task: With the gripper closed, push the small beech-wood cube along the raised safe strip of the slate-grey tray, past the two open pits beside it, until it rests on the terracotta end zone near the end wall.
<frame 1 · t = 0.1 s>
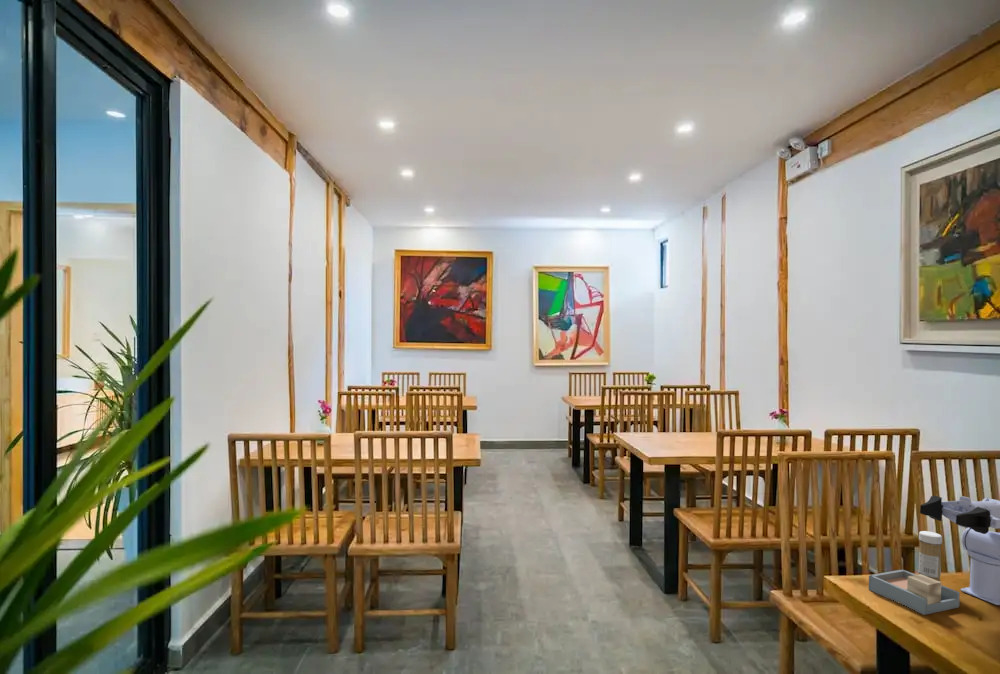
hand: (939, 514, 129), 22 cm above the table, tool horizontal, fingers open, 7 cm apart
trap box: (912, 598, 134), on the table
sprinkles bottle: (928, 587, 140), on the table
beech block: (923, 598, 129), point 2 cm above the table, touching trap box
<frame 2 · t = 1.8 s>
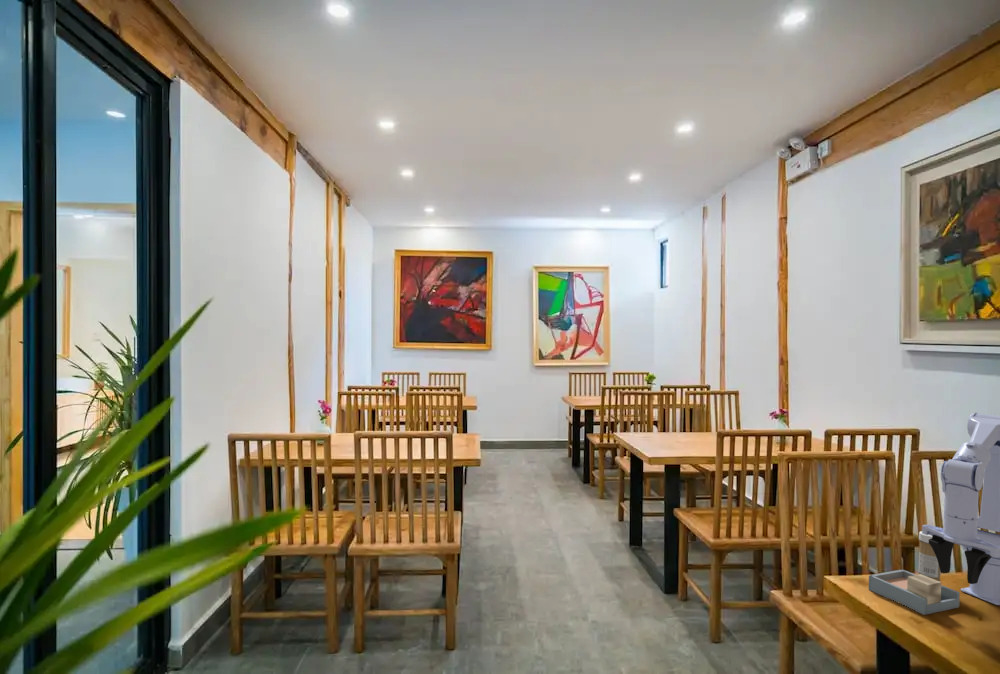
hand: (958, 577, 123), 10 cm above the table, tool pointing down, fingers open, 5 cm apart
nothing on the table moved.
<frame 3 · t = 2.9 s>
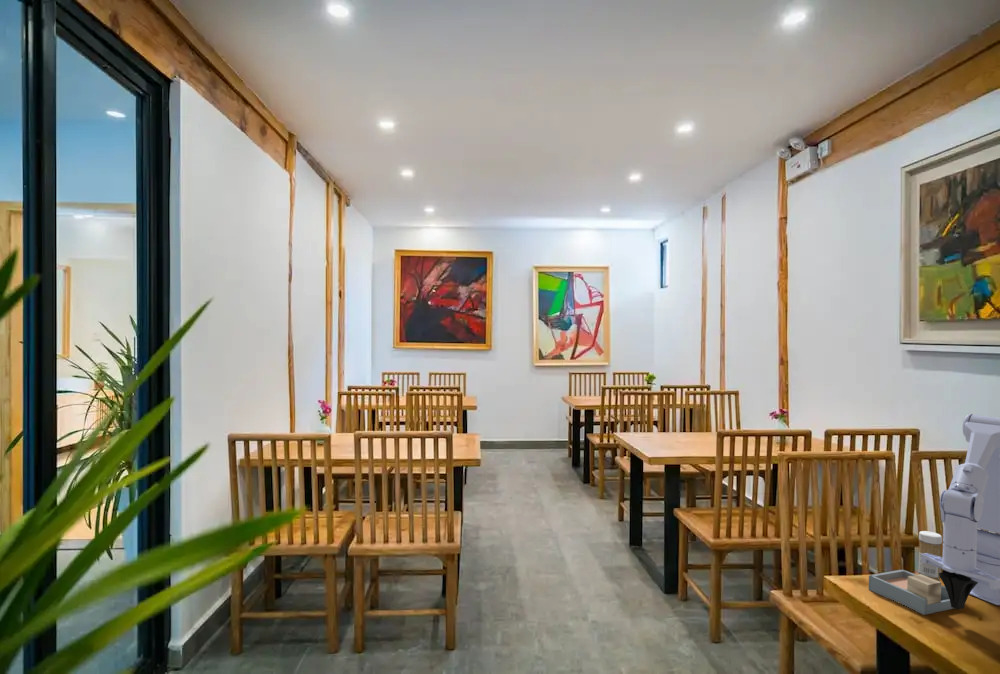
hand: (957, 607, 123), 3 cm above the table, tool pointing down, fingers closed
nothing on the table moved.
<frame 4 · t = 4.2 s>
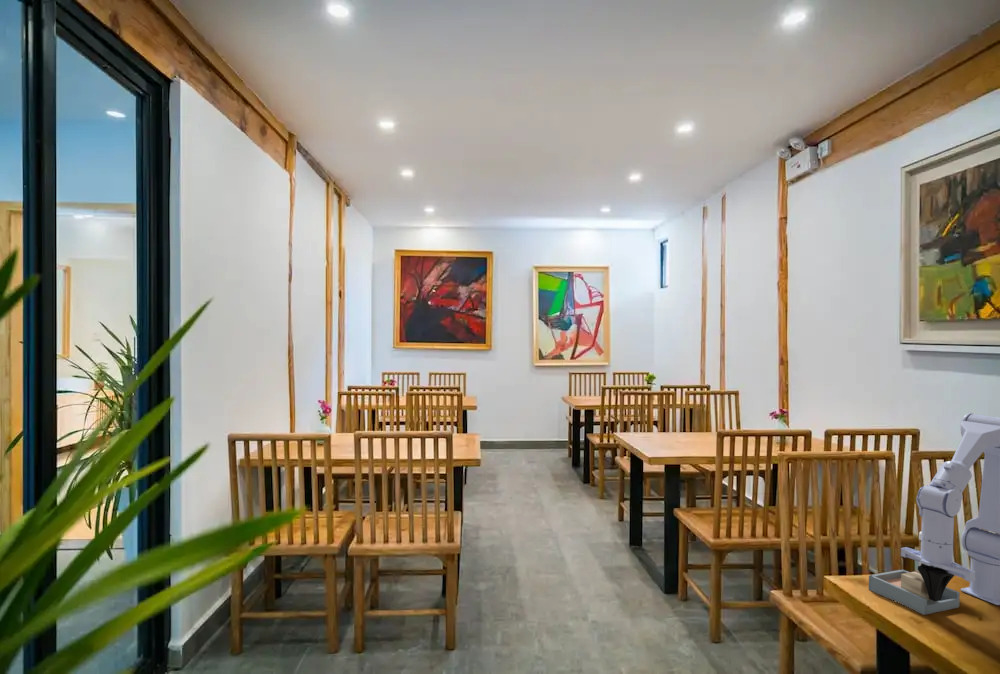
hand: (935, 599, 127), 3 cm above the table, tool pointing down, fingers closed
beech block: (917, 595, 131), point 2 cm above the table, touching gripper
everything else where it was.
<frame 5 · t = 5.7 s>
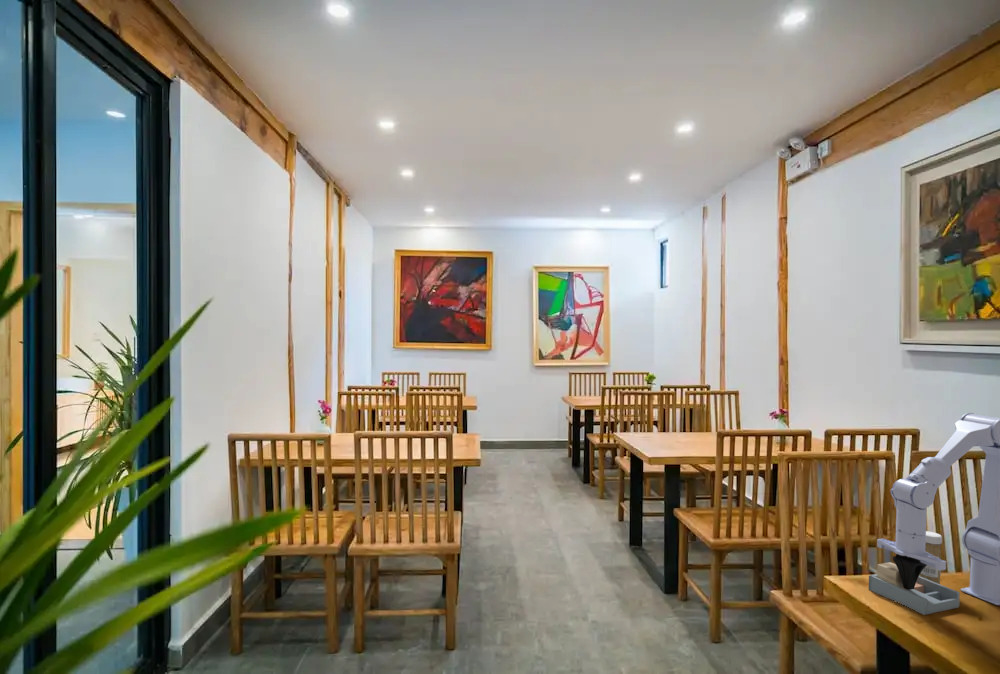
hand: (908, 588, 133), 3 cm above the table, tool pointing down, fingers closed
beech block: (892, 585, 136), point 2 cm above the table, touching gripper, trap box
everything else where it was.
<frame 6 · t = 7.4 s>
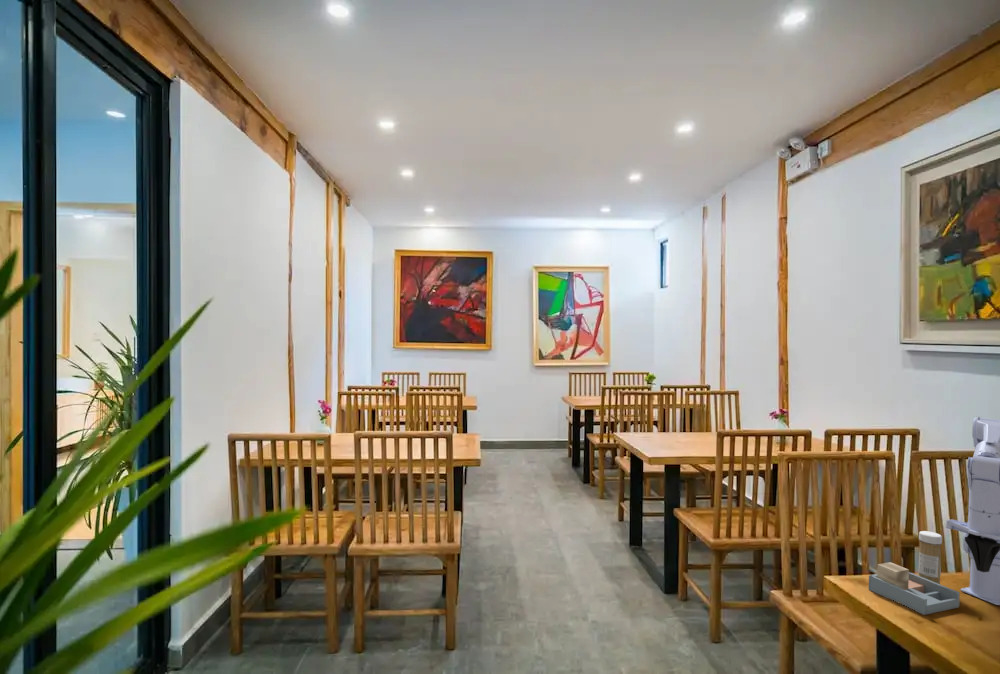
hand: (982, 570, 126), 10 cm above the table, tool pointing down, fingers closed
beech block: (892, 585, 136), point 2 cm above the table, touching trap box
everything else where it was.
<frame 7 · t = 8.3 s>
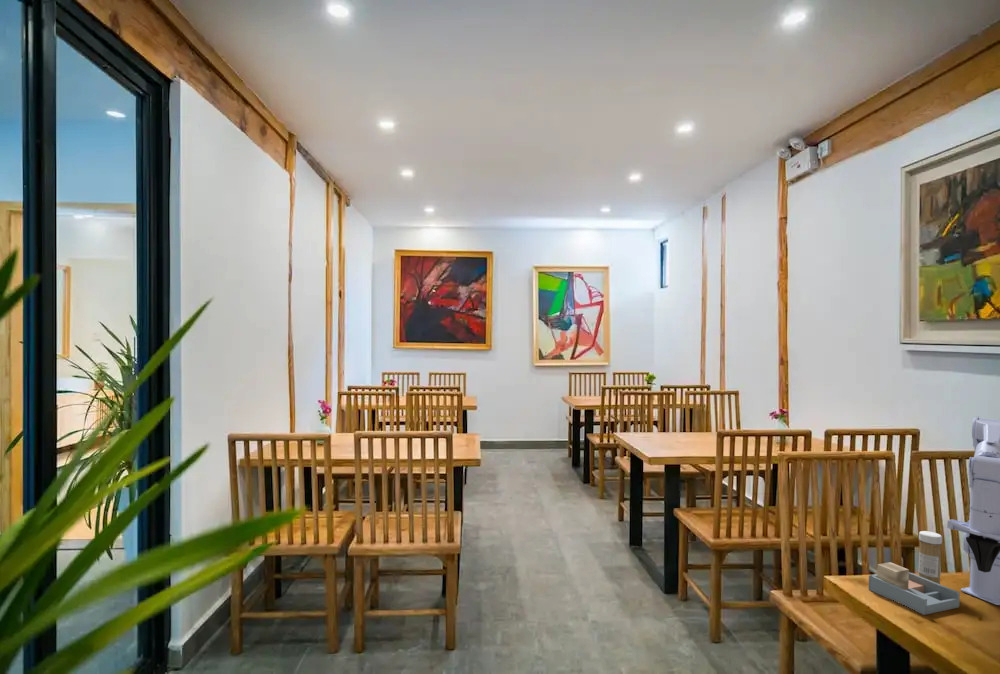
hand: (984, 570, 126), 10 cm above the table, tool pointing down, fingers closed
nothing on the table moved.
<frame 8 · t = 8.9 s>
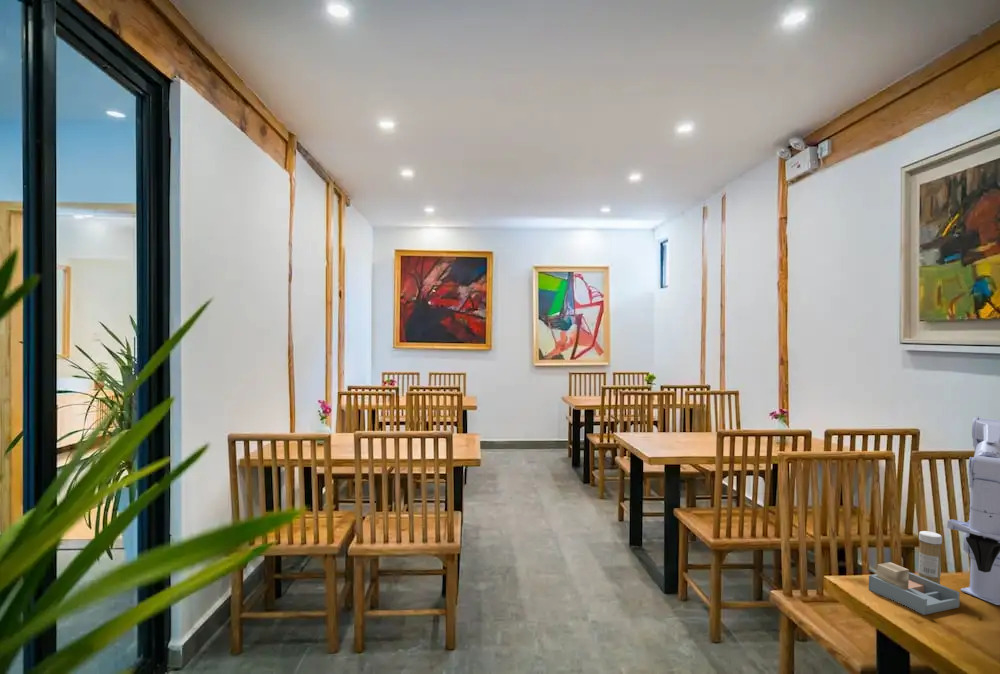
hand: (984, 570, 126), 10 cm above the table, tool pointing down, fingers closed
nothing on the table moved.
at the end: beech block 0.4 cm from the target spot on the trap box, point 2.0 cm above the trap box's base; beech block tilted 0° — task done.
